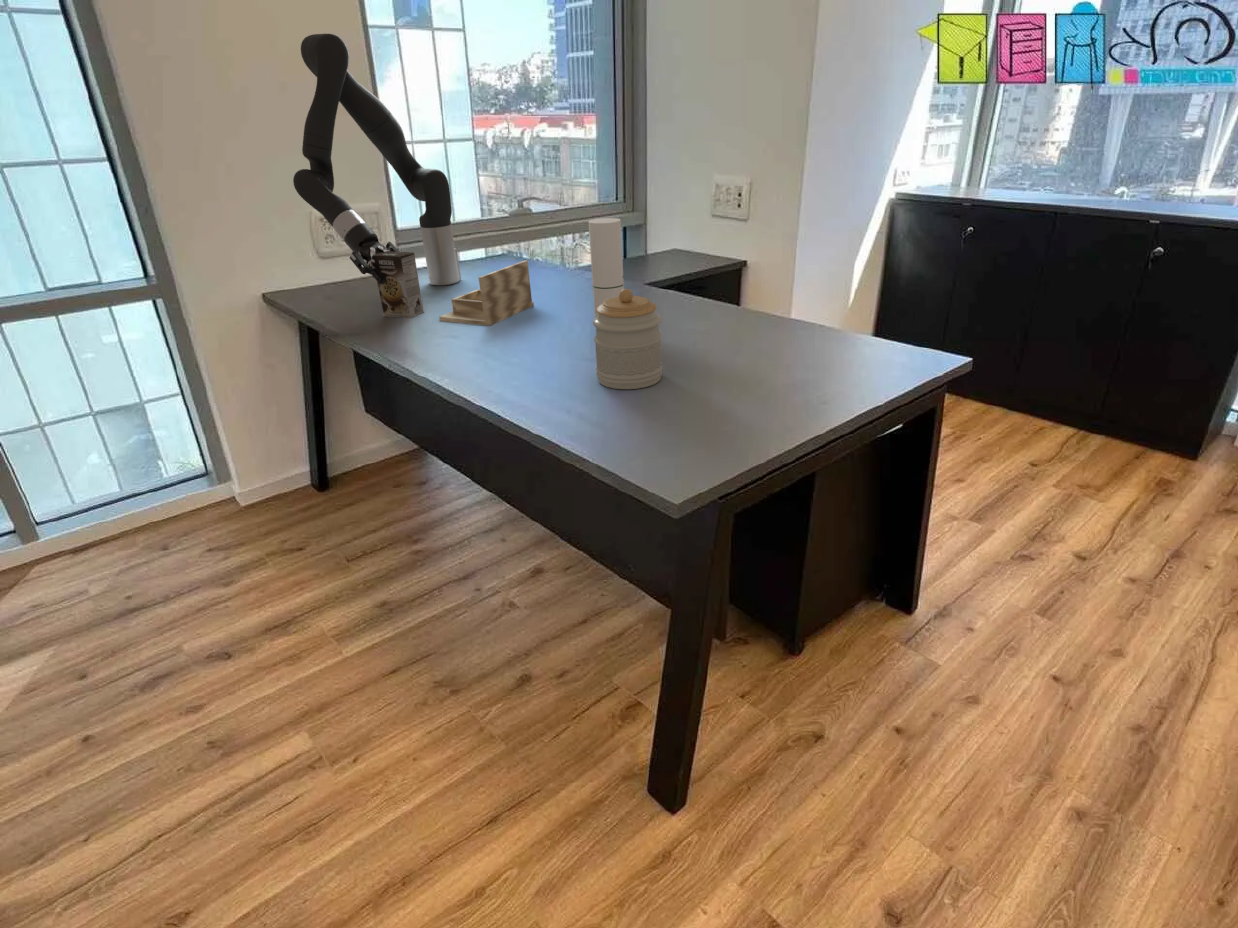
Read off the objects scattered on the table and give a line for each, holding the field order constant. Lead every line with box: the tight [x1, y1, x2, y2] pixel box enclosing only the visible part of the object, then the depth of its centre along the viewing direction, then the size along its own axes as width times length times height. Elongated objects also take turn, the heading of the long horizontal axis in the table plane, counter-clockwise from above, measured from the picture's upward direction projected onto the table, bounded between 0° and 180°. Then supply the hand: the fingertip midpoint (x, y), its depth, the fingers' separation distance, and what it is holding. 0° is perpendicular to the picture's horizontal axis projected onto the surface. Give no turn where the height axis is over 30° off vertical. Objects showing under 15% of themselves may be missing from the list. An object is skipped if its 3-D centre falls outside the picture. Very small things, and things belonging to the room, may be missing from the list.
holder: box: [438, 260, 535, 327], centre depth 189 cm, size 20×16×12 cm
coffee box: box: [372, 251, 425, 319], centre depth 191 cm, size 9×6×16 cm
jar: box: [592, 288, 664, 390], centre depth 138 cm, size 13×13×18 cm
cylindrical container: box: [588, 217, 625, 319], centre depth 166 cm, size 7×7×25 cm
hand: (396, 278), depth 190 cm, fingers open, 8 cm apart
